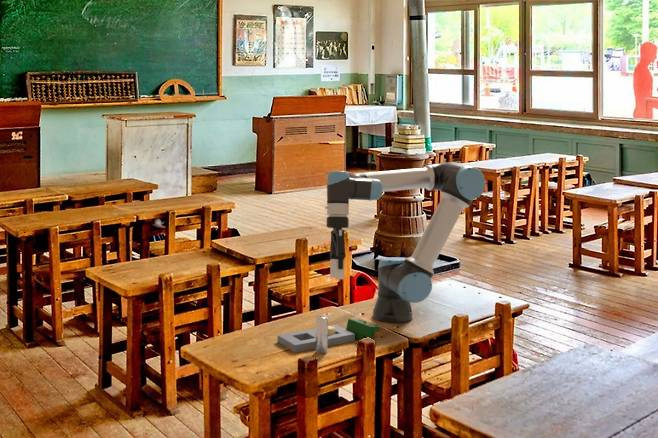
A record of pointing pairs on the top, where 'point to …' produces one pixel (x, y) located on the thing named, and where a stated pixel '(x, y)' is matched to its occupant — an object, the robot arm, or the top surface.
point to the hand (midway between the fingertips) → (337, 278)
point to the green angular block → (361, 328)
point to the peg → (321, 334)
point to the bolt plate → (314, 338)
